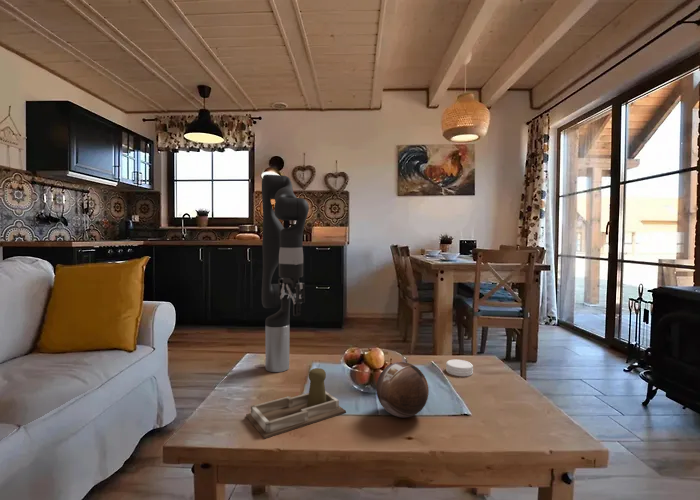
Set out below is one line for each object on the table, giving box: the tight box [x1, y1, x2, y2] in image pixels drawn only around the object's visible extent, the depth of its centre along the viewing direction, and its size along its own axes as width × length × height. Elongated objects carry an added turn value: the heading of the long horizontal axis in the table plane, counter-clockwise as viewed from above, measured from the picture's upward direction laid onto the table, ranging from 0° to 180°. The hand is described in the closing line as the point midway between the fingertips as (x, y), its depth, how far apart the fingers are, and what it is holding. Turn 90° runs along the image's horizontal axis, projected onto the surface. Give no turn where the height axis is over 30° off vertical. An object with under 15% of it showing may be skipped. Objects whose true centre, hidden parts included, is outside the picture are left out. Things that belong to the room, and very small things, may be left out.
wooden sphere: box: [376, 361, 430, 418], centre depth 106 cm, size 15×15×15 cm
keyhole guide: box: [246, 390, 347, 440], centre depth 105 cm, size 14×25×3 cm, turn 125°
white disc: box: [445, 359, 474, 377], centre depth 141 cm, size 10×10×4 cm
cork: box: [307, 367, 327, 407], centre depth 110 cm, size 6×6×11 cm
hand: (290, 313), depth 114 cm, fingers open, 8 cm apart
